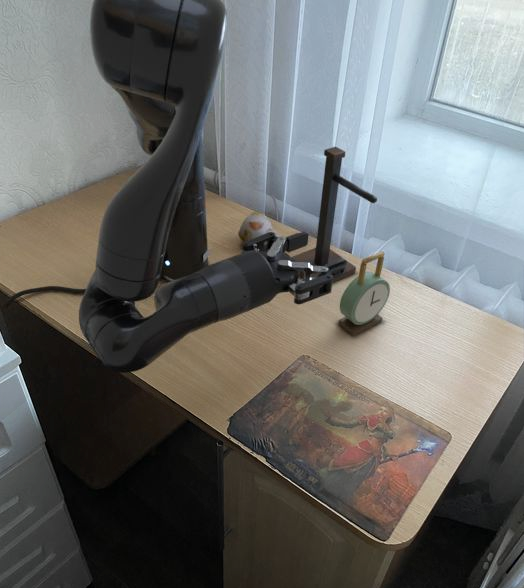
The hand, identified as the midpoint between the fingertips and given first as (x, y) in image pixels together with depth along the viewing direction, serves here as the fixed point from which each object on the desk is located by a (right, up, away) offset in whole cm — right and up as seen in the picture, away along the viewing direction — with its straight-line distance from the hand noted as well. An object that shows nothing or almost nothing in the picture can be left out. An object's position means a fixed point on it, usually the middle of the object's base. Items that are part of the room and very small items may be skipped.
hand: (324, 250), depth 79 cm
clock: (+8, -10, +18) cm, 22 cm away
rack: (+4, 0, +28) cm, 29 cm away
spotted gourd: (-9, +7, +36) cm, 37 cm away
